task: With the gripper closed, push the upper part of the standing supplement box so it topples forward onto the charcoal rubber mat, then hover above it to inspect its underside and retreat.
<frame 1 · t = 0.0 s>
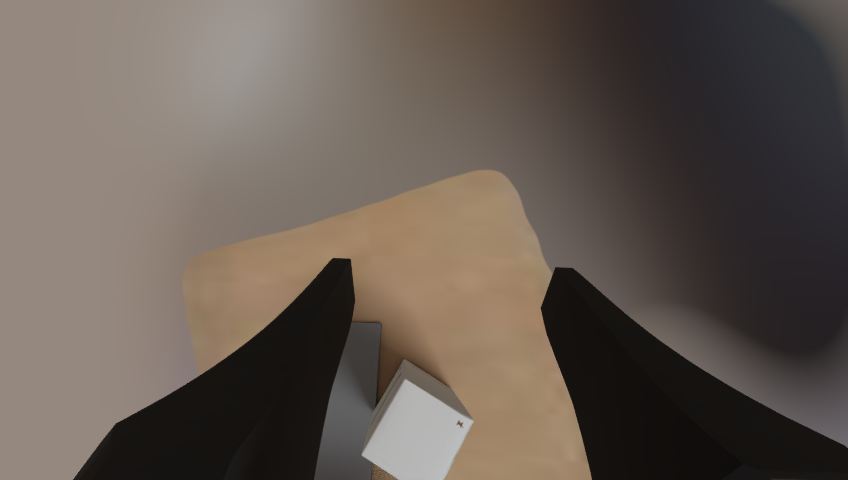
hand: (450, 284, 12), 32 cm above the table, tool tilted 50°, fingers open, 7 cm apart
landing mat: (331, 397, 40), on the table
supplement box: (412, 400, 40), on the table, touching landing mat
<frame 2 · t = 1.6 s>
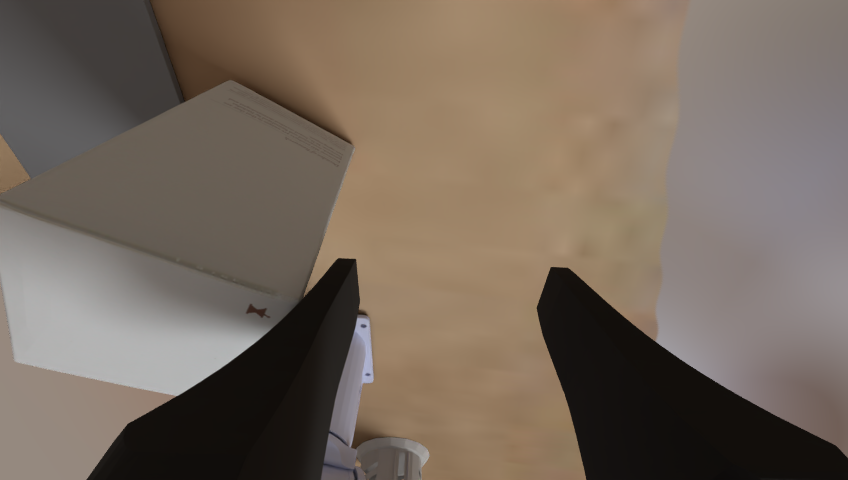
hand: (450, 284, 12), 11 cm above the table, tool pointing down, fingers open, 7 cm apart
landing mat: (113, 156, 20), on the table
supplement box: (278, 164, 20), on the table, touching gripper, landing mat
french press: (394, 450, 43), on the table
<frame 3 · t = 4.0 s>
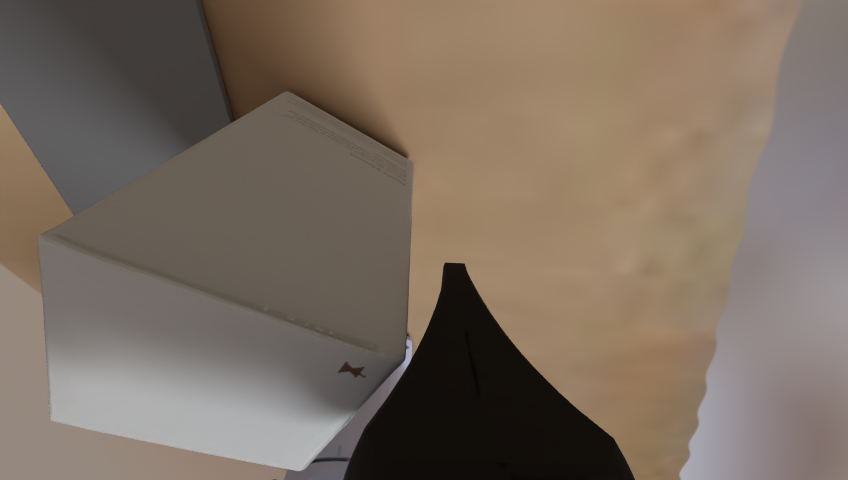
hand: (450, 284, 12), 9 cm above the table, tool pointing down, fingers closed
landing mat: (152, 173, 19), on the table
supplement box: (328, 181, 19), on the table, touching gripper, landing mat
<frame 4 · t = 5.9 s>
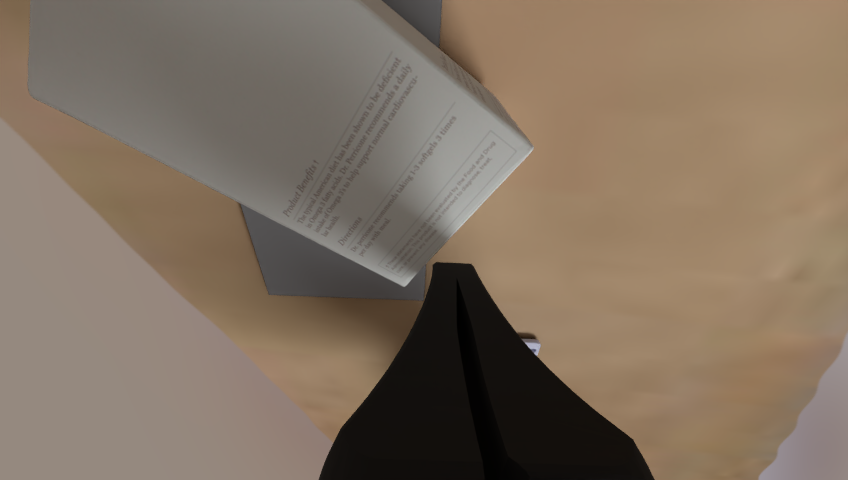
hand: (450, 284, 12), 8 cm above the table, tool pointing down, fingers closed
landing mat: (333, 178, 19), on the table
supplement box: (457, 188, 14), point 4 cm above the table, touching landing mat
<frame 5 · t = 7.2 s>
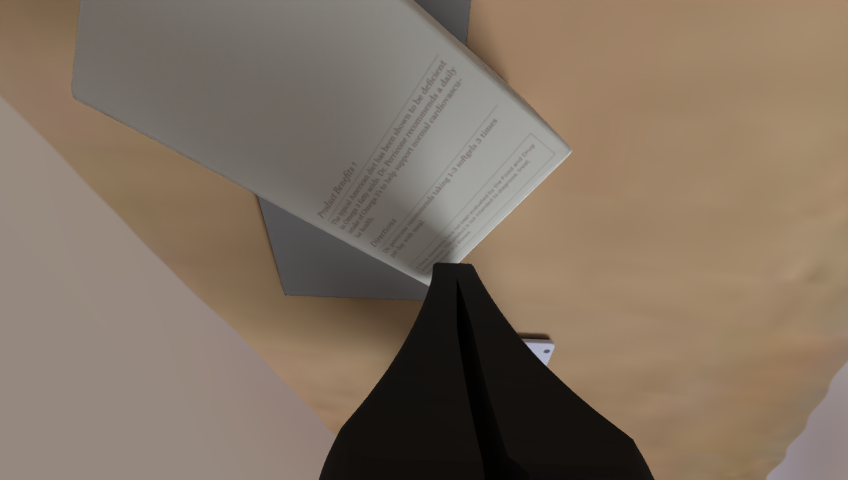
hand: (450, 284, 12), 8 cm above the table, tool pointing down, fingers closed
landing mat: (354, 179, 19), on the table
supplement box: (483, 189, 14), point 4 cm above the table, touching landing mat
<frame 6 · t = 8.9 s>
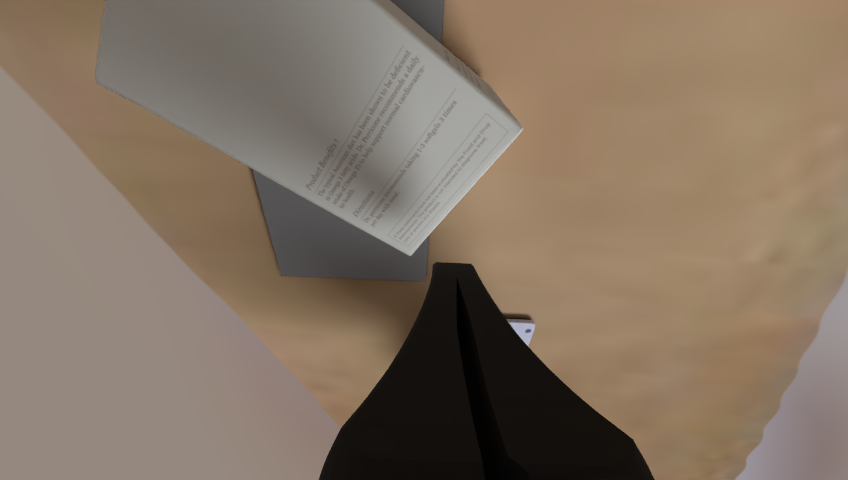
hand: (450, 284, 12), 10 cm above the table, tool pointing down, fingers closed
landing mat: (343, 164, 20), on the table
supplement box: (457, 170, 16), point 4 cm above the table, touching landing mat
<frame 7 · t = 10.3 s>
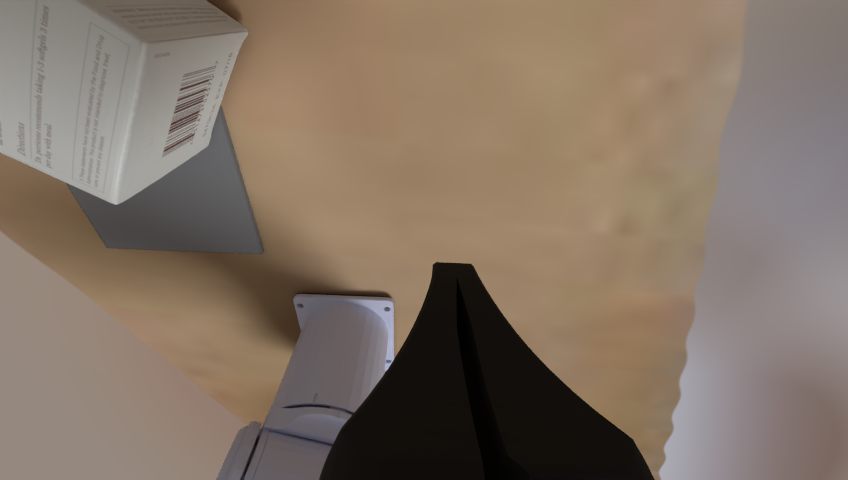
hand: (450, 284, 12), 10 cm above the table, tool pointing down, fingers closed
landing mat: (130, 121, 19), on the table
supplement box: (195, 116, 15), point 4 cm above the table, touching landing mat
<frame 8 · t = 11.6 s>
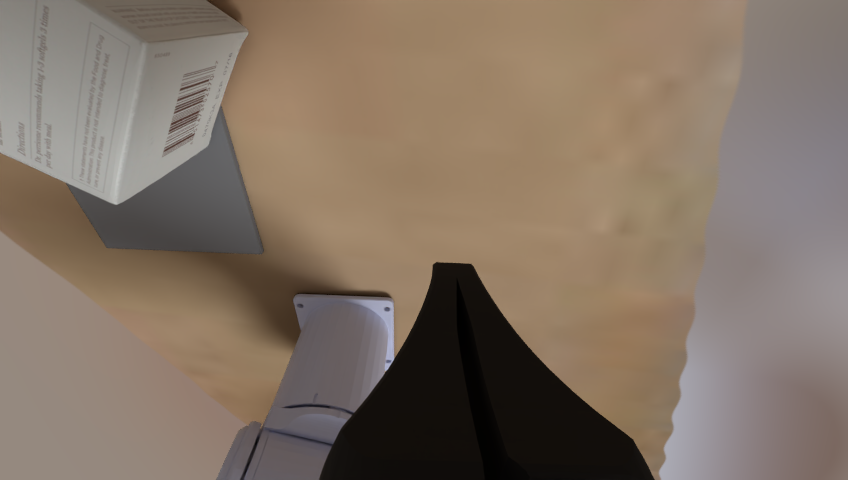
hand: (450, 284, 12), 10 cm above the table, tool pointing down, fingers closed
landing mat: (130, 121, 19), on the table
supplement box: (195, 116, 15), point 4 cm above the table, touching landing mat
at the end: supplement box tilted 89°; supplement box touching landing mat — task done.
